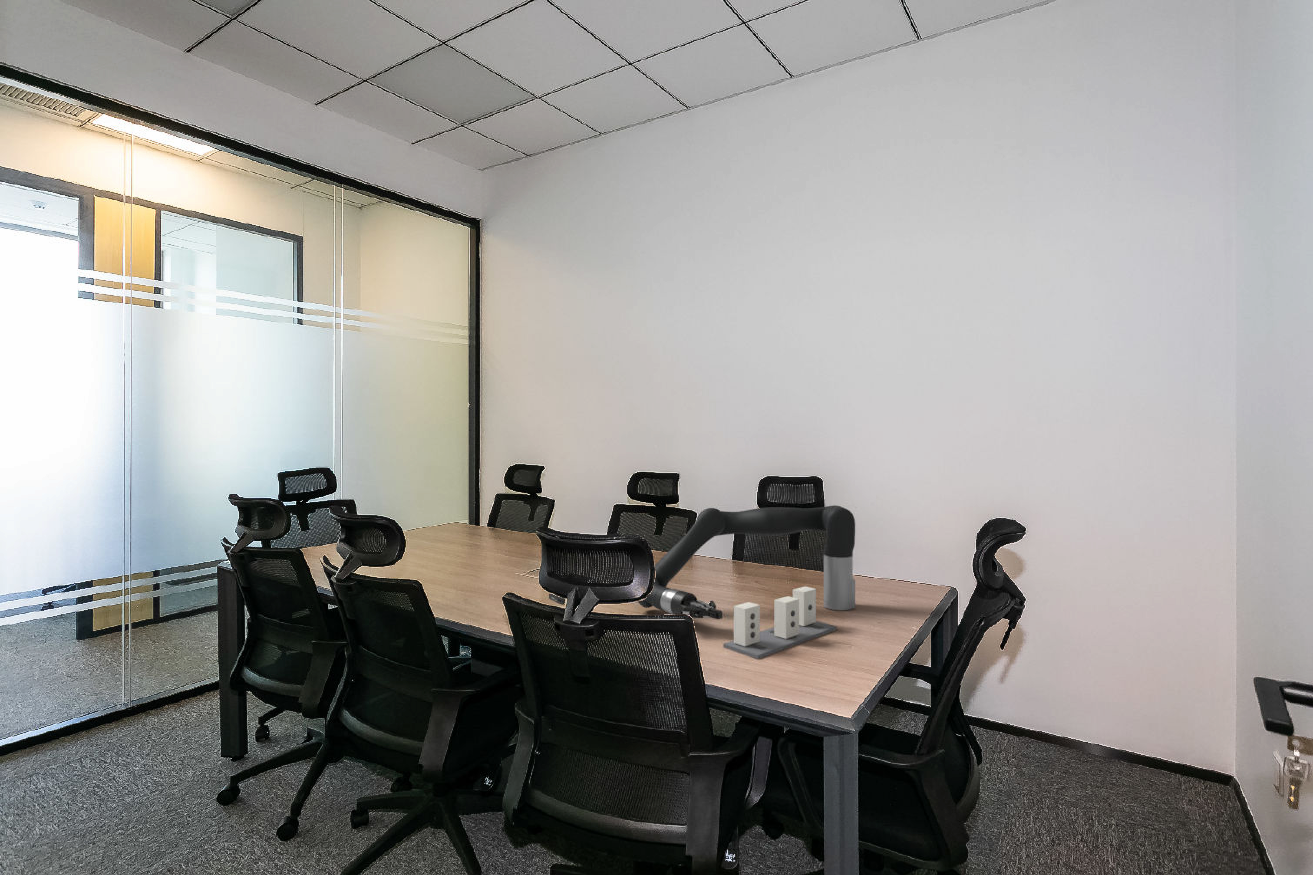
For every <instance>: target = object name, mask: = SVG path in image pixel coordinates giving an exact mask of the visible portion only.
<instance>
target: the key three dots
mask: <svg viewBox="0 0 1313 875" xmlns="http://www.w3.org/2000/svg"><path fill="white" fill-rule="evenodd" d="M760 606H761V605H760V604H757V603H754V602H751V601H750V602H749V601H747V602H744V603H739V604H736V605H734V606H733V640H734V643H736V644H739V645H742V646H748V645H751V644H754V643H757V642H760V628H761V626H760V623H761V622H760V621H761V618H760V617H761V616H760V615H761V614H760V612H761V611H760V610H761V609H760V608H761V607H760Z"/></svg>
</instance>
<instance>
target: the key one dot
mask: <svg viewBox="0 0 1313 875" xmlns="http://www.w3.org/2000/svg"><path fill="white" fill-rule="evenodd" d="M792 597H793V598H797V599H799V625H801V626H806V625H809V624H812V623H815V622H816V621H817V589H816V588H814V587H810V586H802V587H798V588H793V589H792Z"/></svg>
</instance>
